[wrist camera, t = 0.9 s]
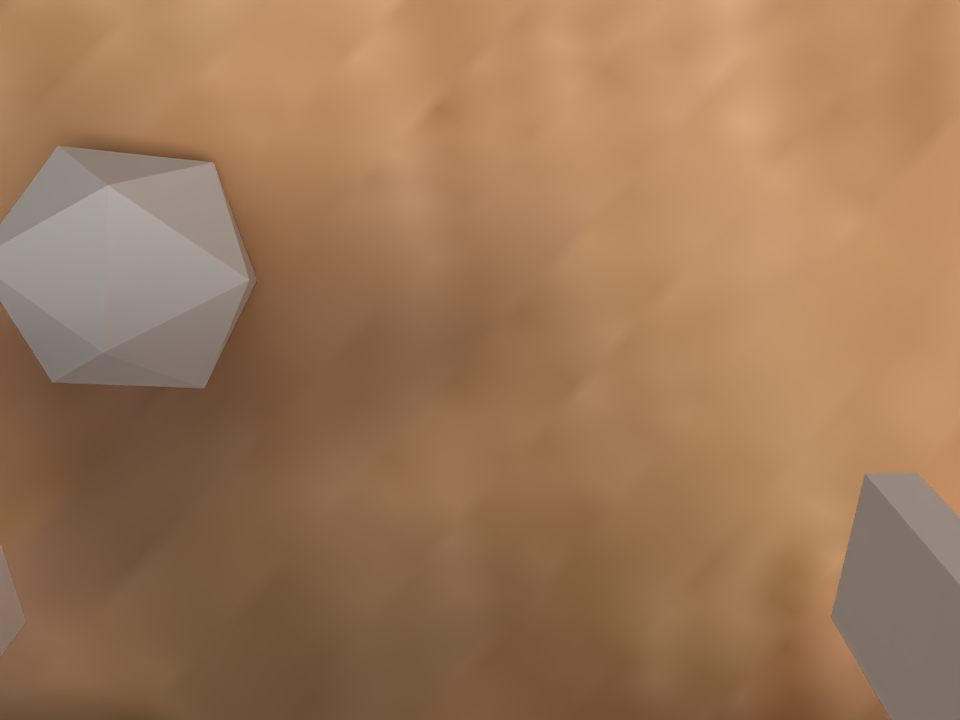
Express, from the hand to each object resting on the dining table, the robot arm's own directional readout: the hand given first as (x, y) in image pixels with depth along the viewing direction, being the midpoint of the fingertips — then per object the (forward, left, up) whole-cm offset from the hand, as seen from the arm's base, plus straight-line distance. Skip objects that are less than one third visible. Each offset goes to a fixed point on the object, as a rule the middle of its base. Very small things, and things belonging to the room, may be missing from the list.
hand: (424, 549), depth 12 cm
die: (+12, +8, -18) cm, 23 cm away
